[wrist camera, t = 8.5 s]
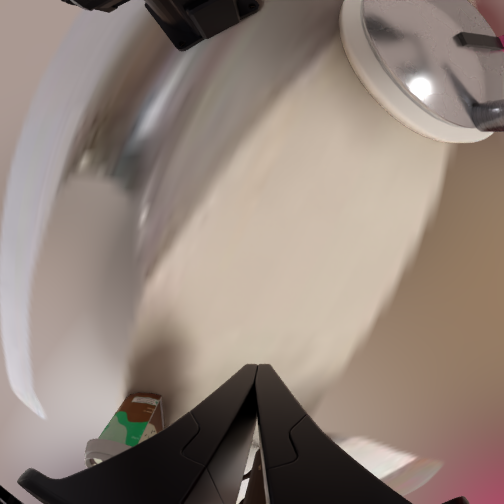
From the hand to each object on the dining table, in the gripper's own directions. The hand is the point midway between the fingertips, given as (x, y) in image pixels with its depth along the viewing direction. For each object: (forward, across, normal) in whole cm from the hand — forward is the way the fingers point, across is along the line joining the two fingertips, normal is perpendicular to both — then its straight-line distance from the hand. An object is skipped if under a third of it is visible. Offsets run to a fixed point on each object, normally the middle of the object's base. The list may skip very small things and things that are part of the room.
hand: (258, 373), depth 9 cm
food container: (+11, -15, -18) cm, 26 cm away
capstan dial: (+9, +13, +16) cm, 23 cm away
